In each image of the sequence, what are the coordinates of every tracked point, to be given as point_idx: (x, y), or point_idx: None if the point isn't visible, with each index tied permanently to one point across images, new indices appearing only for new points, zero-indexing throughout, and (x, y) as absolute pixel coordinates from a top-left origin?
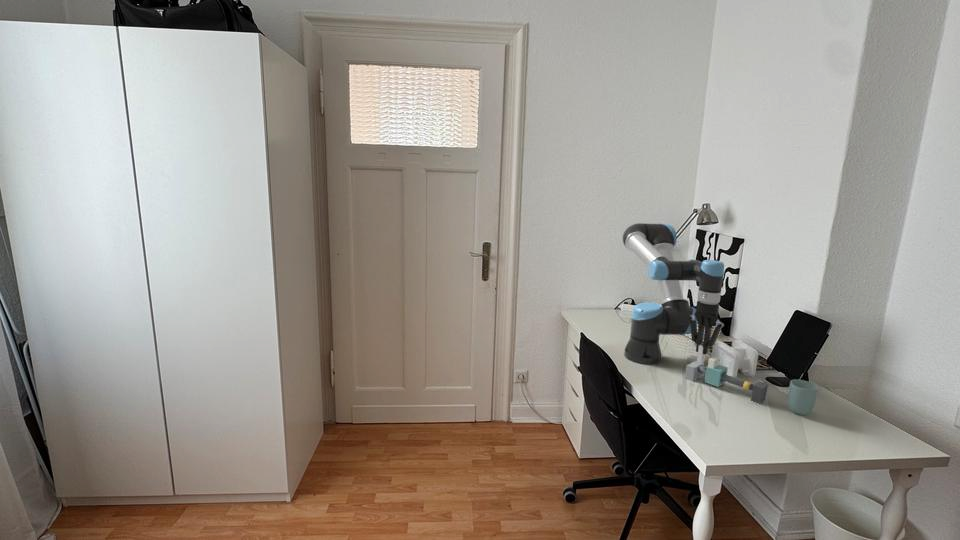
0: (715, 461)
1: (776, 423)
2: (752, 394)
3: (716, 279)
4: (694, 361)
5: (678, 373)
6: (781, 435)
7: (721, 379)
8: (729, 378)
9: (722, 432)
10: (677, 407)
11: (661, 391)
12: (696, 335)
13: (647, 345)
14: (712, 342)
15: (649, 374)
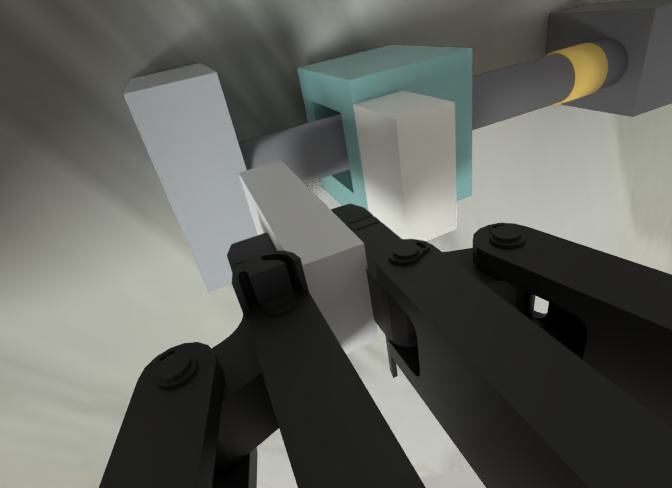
0: None
1: (635, 180)
2: (578, 106)
3: None
4: (148, 152)
5: (102, 225)
6: (647, 232)
7: None
8: (485, 123)
9: None
10: (396, 427)
11: (280, 432)
12: (193, 469)
13: None
14: (578, 352)
15: (68, 416)
